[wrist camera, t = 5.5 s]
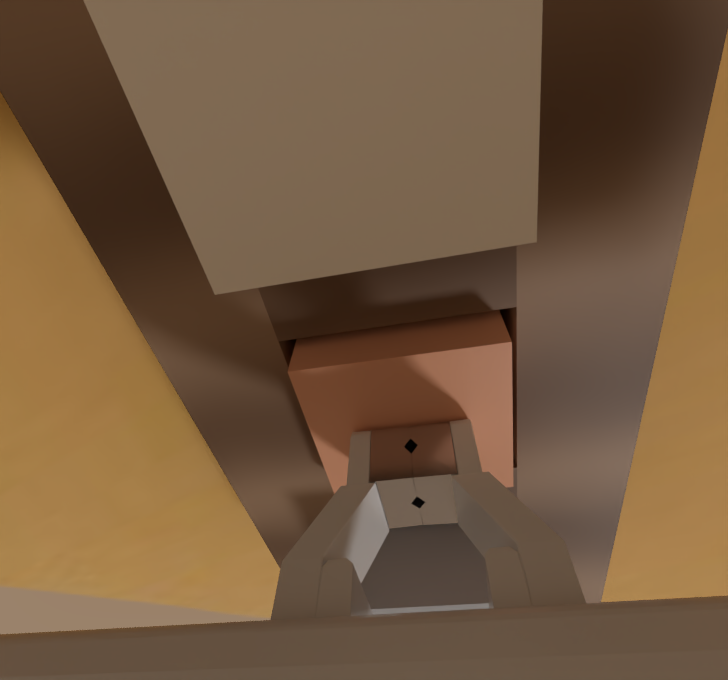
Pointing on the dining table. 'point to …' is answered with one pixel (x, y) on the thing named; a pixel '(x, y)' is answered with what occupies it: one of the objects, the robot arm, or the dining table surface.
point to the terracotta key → (408, 385)
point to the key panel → (418, 279)
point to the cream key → (335, 127)
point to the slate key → (426, 572)
